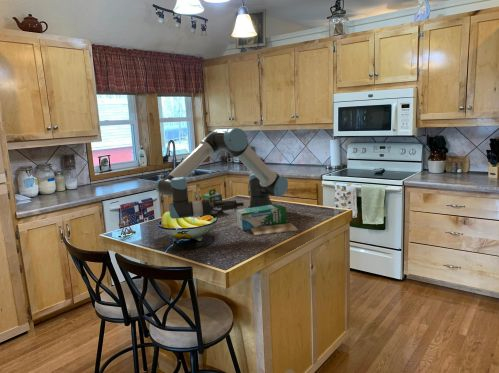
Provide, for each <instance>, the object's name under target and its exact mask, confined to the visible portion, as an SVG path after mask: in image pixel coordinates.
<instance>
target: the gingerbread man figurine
mask: <svg viewBox="0 0 499 373" xmlns="http://www.w3.org/2000/svg"><path fill="white" fill-rule="evenodd" d="M124 214H125V215H124ZM120 216H121V220H119V222H118V227H119V228H122V230H121V232H120V234H121V235H122V234H123V235H126V234H130V233H134V232H136V230H133V229H132V228H131V226H130V225H129V222H130V221H131V220H132V218H133V217H132V215H131V214H128V213H127V212H122V213H121V215H120ZM128 219H129V220H128ZM127 227H128V228H127ZM136 233H137V232H136ZM134 234H135V233H134Z"/></svg>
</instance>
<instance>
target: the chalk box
mask: <svg viewBox="0 0 499 373" xmlns="http://www.w3.org/2000/svg"><path fill="white" fill-rule="evenodd" d="M202 200H209V201H210V203H213V202H215V201H223V194H222V193H218V192H216V188H212V189H209V190H208V193H205V194H203V195H202ZM223 212H224V211H220V212H217V211H211V216H212V215H218V214H220V213H223Z"/></svg>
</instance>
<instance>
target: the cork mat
mask: <svg viewBox="0 0 499 373" xmlns="http://www.w3.org/2000/svg"><path fill="white" fill-rule="evenodd" d="M296 231H297V232H298V231H299V230H298V228H297V227H296V226H295V225H293V224H292V223H291V222H290V223H284V224H279V225H271V226H262V227H255V228H251V229H250V232H252V234H253V236H254V237H256V236H265V235H274V234H280V233H281V234H282V232H283V233H289V232H296Z"/></svg>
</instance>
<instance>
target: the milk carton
mask: <svg viewBox="0 0 499 373" xmlns="http://www.w3.org/2000/svg"><path fill="white" fill-rule="evenodd" d="M235 210H236V213H235V214H236V223H237V224H236V225H237V228H240V230H241V231H247V230H251V228H255V227H262V226H271V225H279V224H288V223H287V208H286V206H283V205H280V204H277V203H274V204H272V205H266V206H260V207H253V208H248V207H247V208H246V207H245V208H241V209H235Z"/></svg>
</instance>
